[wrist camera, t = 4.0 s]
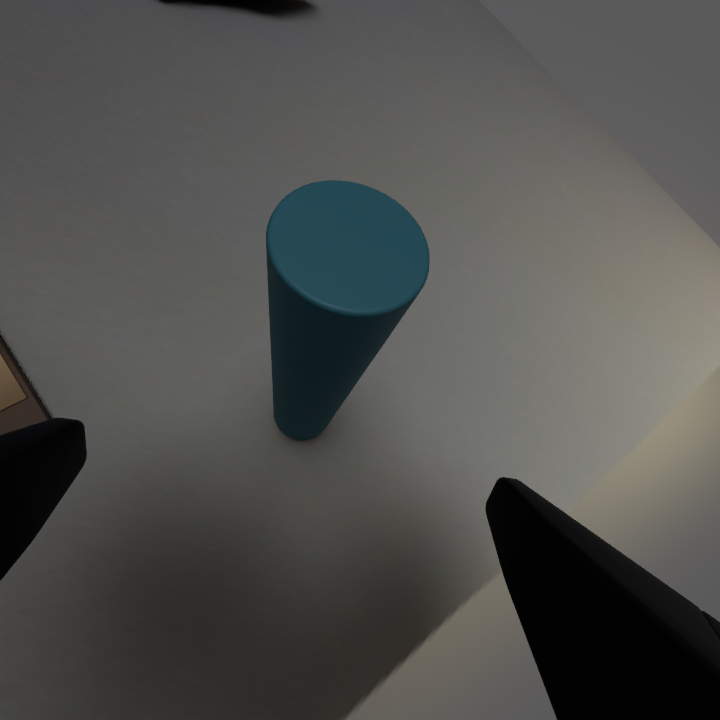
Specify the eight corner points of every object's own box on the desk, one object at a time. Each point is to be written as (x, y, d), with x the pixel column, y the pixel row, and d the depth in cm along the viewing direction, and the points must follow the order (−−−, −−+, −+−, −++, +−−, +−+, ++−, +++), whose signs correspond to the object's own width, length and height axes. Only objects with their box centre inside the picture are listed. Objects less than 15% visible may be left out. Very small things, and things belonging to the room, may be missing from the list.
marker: (337, 421, 18) (461, 265, 6) (295, 455, 17) (341, 347, 5) (306, 382, 19) (362, 160, 6) (263, 412, 17) (229, 212, 5)
